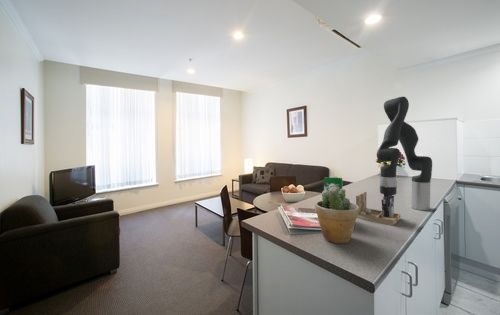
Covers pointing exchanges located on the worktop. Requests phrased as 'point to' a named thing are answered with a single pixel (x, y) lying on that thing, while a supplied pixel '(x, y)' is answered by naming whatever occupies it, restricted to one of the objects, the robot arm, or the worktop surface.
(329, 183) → the milk carton
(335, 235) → the potted plant
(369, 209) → the pebble
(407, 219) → the worktop surface
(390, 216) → the gray rectangular block
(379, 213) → the divided box
